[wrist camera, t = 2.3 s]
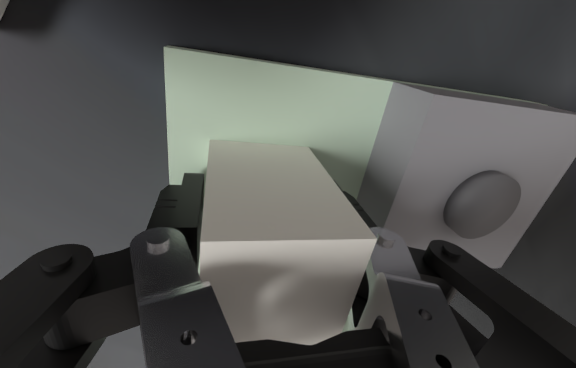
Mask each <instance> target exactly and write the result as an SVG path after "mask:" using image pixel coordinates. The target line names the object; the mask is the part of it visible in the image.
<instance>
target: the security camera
mask: <svg viewBox="0 0 576 368" xmlns="http://www.w3.org/2000/svg"><path fill="white" fill-rule="evenodd" d="M9 1H10V0H0V21H1V18H2V16H3V14H4V12H5V10H6V7H7V5H8V3H9Z"/></svg>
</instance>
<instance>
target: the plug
mask: <svg viewBox="0 0 576 368" xmlns="http://www.w3.org/2000/svg"><path fill="white" fill-rule="evenodd" d="M376 241H377V238H376V237H375V235H374V234H373V233H372V231H371V230H370V229H369V227H368V226H367V225H366V223H365V222H364V221H363V219H362V218H361V217H360V215H359V214H358V212H357V211H356V210H355V208H354V207H353V206H352V204H351V203H350V202H349V200H348V199H347V198H346V196H345V195H344V194H343V192H342V191H341V190H340V188H339V187H338V186H337V184H336V183H335V182H334V180H333V179H332V178H331V176H330V175H329V174H328V172H327V171H326V170H325V168H324V167H323V166H322V164H321V163H320V162H319V160H318V159H317V158H316V156H315V155H314V154H313V152H312V151H311V150H310V148H309V147H303V146H290V145H277V144H264V143H250V142H237V141H224V140H211V139H210V141H209V152H208V162H207V173H206V184H205V195H204V206H203V217H202V228H201V238H200V278H201V280H202V282H203V281H206V280H207V281H209V283H210V284H211V286H212V288H213V291H214V293H215V295H216V298H217V300H218V303H219V305H220V307H221V310H222V312H223V314H224V317H225V319H226V322H227V324H228V326H229V329H230V331H231V334H232V336H233V338H234V341H235V343H237V342H246V341H256V340H265V339H270V340H277V341H283V342H290V343H297V344H304V345H314V344H317V343H319V342H321V341H324V340H326V339H328V338H331V337H333V336H336V335H338V334H340V333H342V330H343V328H344V325H345V323H346V320H347V317H348V315H349V312H350V309H351V307H352V304H353V302H354V299H355V296H356V294H357V291H358V288H359V286H360V283H361V281H362V278H363V275H364V273H365V270H366V267H367V265H368V262H369V260H370V257H371V254H372V252H373V249H374V246H375V244H376Z"/></svg>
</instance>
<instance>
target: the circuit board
mask: <svg viewBox="0 0 576 368" xmlns="http://www.w3.org/2000/svg"><path fill="white" fill-rule="evenodd" d="M164 68H165V91H166V114H167V136H168V159H169V182H170V185H181V184H182V180H183V176H184V173H201V174H204V195H205V184H206V173H207V162H208V152H209V141H210V139H211V140H224V141H237V142H250V143H264V144H277V145H290V146H303V147H309V148H310V150H311V151H312V152H313V154H314V155H315V156H316V158H317V159H318V160H319V162H320V163H321V164H322V166H323V167H324V168H325V170H326V171H327V172H328V174H329V175H330V176H331V178H332V179H333V180H335V181H336V183H337V184H338V185H339V187H340V188H341V189H342V191H346V192H347V193H348V194H350V195H351V196H353V197H354V198H355V199H356V200H357V202H358V203H359V205H361V207H362V208H363V209H364V211H365V212H366V213H367V214H368V215H369V217H370V218H371V219H372V220H373V222H374V223H375V224H376V225H377V227H381V228H385V229H388V230H391V231H393V232H395V233H396V234H398V235H399V236H401V237H402V238H403V240H404V241H405V243H406V245H407V247H412V248H417V249H422V250H426V249H427V247H428V245H429V243H430V242H431V241H433V240H444V241H448V242H450V243H453V244H455V245H457V246H459V247H461V248H462V249H464V250H465V251H466V252H468V253H469V254H471V255H472V256H474V257H475V258H477V259H478V260H479V261H481V262H482V263H484V264H485V265H487V266H488V267H490V268H501V267H502V265H503V264H504V262H505V261H506V259H507V258H508V256H509V255H510V253H511V252H512V250H513V249H514V248H515V246H516V245H517V243H518V242H519V240H520V239H521V237H522V236H523V234H524V233H525V231H526V230H527V228H528V227H529V225H530V224H531V222H532V221H533V219H534V218H535V216H536V215H537V214H538V212H539V211H540V209H541V208H542V206H543V205H544V203H545V202H546V200H547V199H548V197H549V196H550V194H551V193H552V191H553V190H554V188H555V187H556V185H557V184H558V182H559V181H560V180H561V178H562V177H563V175H564V174H565V172H566V171H567V169H568V168H569V166H570V165H571V163H572V162H573V160H574V159H575V157H576V112H571V111H567V110H563V109H559V108H554V107H550V106H547V105H544V104H540V103H536V102H531V101H527V100H520V99H514V98H507V97H501V96H494V95H488V94H481V93H475V92H468V91H462V90H455V89H449V88H442V87H436V86H429V85H423V84H417V83H410V82H404V81H397V80H391V79H384V78H378V77H371V76H365V75H358V74H352V73H345V72H339V71H332V70H326V69H319V68H313V67H306V66H300V65H293V64H287V63H280V62H274V61H267V60H261V59H254V58H248V57H241V56H235V55H228V54H222V53H215V52H209V51H202V50H196V49H190V48H183V47H177V46H170V45H168V46H165V47H164ZM198 273H199V275H200V257H199V268H198ZM345 331H349V323H348V317H347V320H346V323H345V325H344V328H343V330H342V333H343V332H345Z"/></svg>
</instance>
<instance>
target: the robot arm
mask: <svg viewBox="0 0 576 368" xmlns="http://www.w3.org/2000/svg"><path fill="white" fill-rule="evenodd" d="M334 182H335V183H336V181H335V180H334ZM336 184H337V183H336ZM337 186H338V187H339V185H338V184H337ZM339 188H340V187H339ZM340 190H341V191H342V189H341V188H340ZM342 192H343V194H344V195H345V196H346V198H347V199H348V200H349V202H350V203H351V204H352V206H353V207H354V208H355V210H356V211H357V212H358V214H359V215H360V217H361V218H362V219H363V221H364V222H365V223H366V225H367V226H368V227H369V229H370V230H371V231H372V233H373V234H374V235H375V237H376V238H377V241H376V244H375V246H374V249H373V252H372V254H371V257H370V260H369V262H368V265H367V267H366V270H365V273H364V275H363V278H362V281H361V283H360V286H359V288H358V291H357V294H356V296H355V299H354V302H353V304H352V307H351V309H350V312H349V315H348V323H349V331H345V332H343V333H340V334H338V335H336V336H333V337H331V338H328V339H326V340H324V341H321V342H319V343H317V344H314V345H304V344H297V343H290V342H283V341H277V340H270V339H265V340H256V341H246V342H237V343H235V341H234V338H233V336H232V334H231V331H230V329H229V326H228V324H227V322H226V319H225V317H224V314H223V312H222V310H221V307H220V305H219V303H218V300H217V298H216V295H215V293H214V291H213V288H212V286H211V284H210V283H209V281H207V280H206V281H203V282H202V280H201V278H200V275H199V273H198V268H199V257H200V238H201V228H202V217H203V206H204V174H201V173H184V176H183V180H182V184H181V185H168V186H167V187H165V188H164V189H163V190H162V191H161V192H160V194H159V197H158V201H157V202H156V205H155V208H154V210H153V213H152V216H151V218H150V221H149V224H148V226H147V229H146V230H145V231H143V232H141V233H139V234H138V235H137V236H135V237H134V238H133V239H132V241H131V243H130V247H129V248H126V249H124V250H121V251H118V252H114V253H109V254H105V255H100V256H95V257H94V256H93V253H92V251H91V250H90V249H89V248H88V247H86V246H83V245H79V244H65V245H59V246H54V247H51V248H48V249H45V250H43V251H40V252H38V253H36V254H35V255H33V256H31V257H30V258H28V259H27V260H26V261H25V262H23V263H22V264H21V265H19V266H18V267H17V268H15V269H14V270H13V271H12V272H10V273H9V274H8V275H6V276H5V277H4V278H3V279H1V280H0V368H86V367H87V366H88V365H89V363H90V362H91V360H92V359H93V357H94V356H95V354H96V353H97V351H98V350H99V348H100V347H101V345H102V344H103V342H104V341H105V339H106V337H107V336H110V335H113V334H116V333H119V332H122V331H124V330H127V329H130V328H133V327H136V326H139V325H140V330H141V337H142V344H143V351H144V358H145V366H146V368H576V327H575V326H573V325H572V324H570V323H569V322H568V321H566V320H565V319H563V318H562V317H560V316H559V315H557V314H556V313H555V312H553V311H552V310H550V309H549V308H547V307H546V306H544V305H543V304H542V303H540V302H539V301H537V300H536V299H534V298H533V297H531V296H530V295H529V294H527V293H526V292H524V291H523V290H521V289H520V288H518V287H517V286H516V285H514V284H513V283H511V282H510V281H508V280H507V279H505V278H504V277H503V276H501V275H500V274H498V273H497V272H495V271H494V270H492V269H491V268H490V267H488V266H487V265H485V264H484V263H482V262H481V261H479V260H478V259H477V258H475V257H474V256H472V255H471V254H469V253H468V252H466V251H465V250H464V249H462V248H461V247H459V246H457V245H455V244H453V243H450V242H448V241H444V240H433V241H431V242H430V243H429V245H428V247H427V249H426V250H422V249H417V248H412V247H407V245H406V243H405V241H404V240H403V238H402V237H401V236H399V235H398V234H396V233H395V232H393V231H391V230H388V229H385V228H381V227H377V225H376V224H375V223H374V222H373V220H372V219H371V218H370V217H369V215H368V214H367V213H366V212H365V211H364V209H363V208H362V207H361V205H359V203H358V202H357V200H356V199H355V198H354V197H353V196H351V195H350V194H348V193H347V192H346V191H342ZM457 291H459V292H460V293H461V294H462V295H464V296H465V297H466V298H467V299H469V300H470V301H471V302H472V303H473V304H475V305H476V306H477V307H478V308H479V309H481V310H482V311H483V312H484V313H485V314H487V315H488V316H489V317H490V319H491V320H492V322H493V324H494V332H493V334H492V335H491V337H490V338H489V339H487V338H486V337H485V336H484V335H482V334H481V333H480V332H479V331H478V330H477V329H476V328H475V327H473V326H472V325H471V324H470V323H469V322H468V321H467V320H466V319H464V318H463V317H462V316H461V315H460V314H459V313H458V312H457V311H456V310H454V309H453V308H452V307H451V306H450V305H449V304H450V302H451V301H452V299H453V297H454V296H455V294H456V292H457Z"/></svg>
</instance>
